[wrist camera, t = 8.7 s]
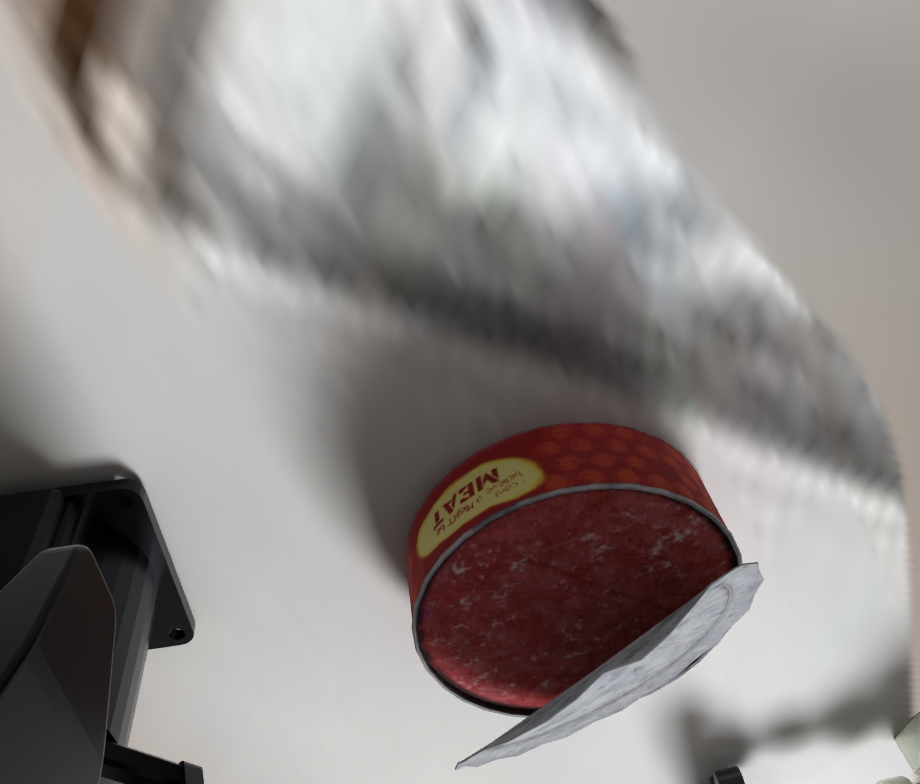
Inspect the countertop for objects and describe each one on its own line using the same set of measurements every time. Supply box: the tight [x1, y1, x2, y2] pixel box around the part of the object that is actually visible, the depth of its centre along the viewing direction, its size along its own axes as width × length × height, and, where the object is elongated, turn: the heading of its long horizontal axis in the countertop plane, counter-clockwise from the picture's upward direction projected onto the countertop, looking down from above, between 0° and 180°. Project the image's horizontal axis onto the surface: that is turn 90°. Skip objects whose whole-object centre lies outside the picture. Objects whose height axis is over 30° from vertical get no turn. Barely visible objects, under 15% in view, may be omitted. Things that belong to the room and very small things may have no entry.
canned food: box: [406, 422, 764, 770], centre depth 26 cm, size 11×10×10 cm
